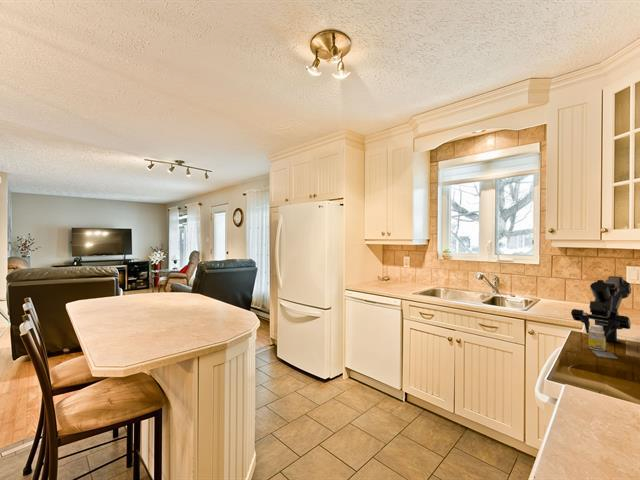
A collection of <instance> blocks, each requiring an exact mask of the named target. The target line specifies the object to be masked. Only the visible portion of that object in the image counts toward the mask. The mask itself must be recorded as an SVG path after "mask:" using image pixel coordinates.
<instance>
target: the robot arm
mask: <svg viewBox="0 0 640 480" xmlns="http://www.w3.org/2000/svg"><path fill="white" fill-rule="evenodd" d="M589 288H590V290H591V293H592V296H593V297H594V301H593V300H590V301H589V305H588V306H589V312H590V313H587V312H584V310H583V309H578V308H573V309H572V310H571V312H570V314H571V316H572V319H573V320H574V321H577V322H581V324H584V329H585V333H586V334H588V330H589V329H590V327H591V323H590V320H594V324H595V325H601V326H603V330H604V331H605V337H606V342H611V343H612V342H613V343H621V340H619V339H618V330H623V329H624V330H625V329H626V330H630V329H631V325H632V324H631V320H630V317H629V316H626V315H619V307H620V305H621V303H622V300H623V299H627V298H628V297H629V296H630V295H631V294H632V287H631V284H630V283H629V282H628V281H627V280H625V279H624V277H622V276H616V275H615V276H613V275H611V276H608V278H607V279H606V280H604V279H603V280H602V279H597V281H594V282H591V284H590V287H589Z"/></svg>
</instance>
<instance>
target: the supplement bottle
mask: <svg viewBox="0 0 640 480" xmlns="http://www.w3.org/2000/svg"><path fill="white" fill-rule="evenodd" d="M587 336H588V337H587V338H588V348H590V349H591V350H593V351H602V352H606V350H607V341H606V337H605V331H604V330H603V326H601V325H595V323H593V324H592V323H591V324H590V328H589V330H588V333H587Z"/></svg>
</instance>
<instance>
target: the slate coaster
mask: <svg viewBox="0 0 640 480" xmlns="http://www.w3.org/2000/svg"><path fill="white" fill-rule="evenodd" d="M591 351H592V353H593V354H594V355H595V356H597V357H598V358H606V359H615V360H618V359H619V358H618V357H617V356H616V355H614V354H613V353H612V352H611V351H597V350H593V349H591Z"/></svg>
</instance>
